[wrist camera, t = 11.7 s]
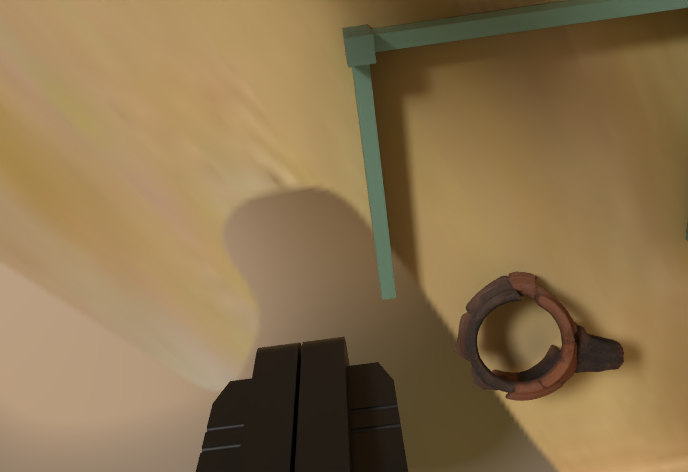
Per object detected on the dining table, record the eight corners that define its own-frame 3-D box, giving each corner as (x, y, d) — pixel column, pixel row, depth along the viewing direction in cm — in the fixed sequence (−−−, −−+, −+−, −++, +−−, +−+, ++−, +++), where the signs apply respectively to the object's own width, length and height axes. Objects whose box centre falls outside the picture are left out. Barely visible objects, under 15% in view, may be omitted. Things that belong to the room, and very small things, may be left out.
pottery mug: (456, 383, 51) (453, 407, 43) (457, 269, 51) (455, 271, 43) (610, 392, 48) (638, 419, 40) (611, 272, 49) (639, 276, 41)
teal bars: (342, 28, 39) (344, 38, 34) (736, -30, 38) (791, -27, 33) (375, 279, 46) (380, 315, 42) (703, 236, 46) (744, 267, 41)
